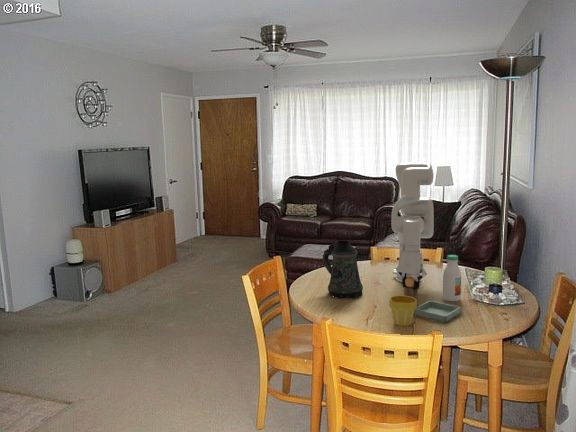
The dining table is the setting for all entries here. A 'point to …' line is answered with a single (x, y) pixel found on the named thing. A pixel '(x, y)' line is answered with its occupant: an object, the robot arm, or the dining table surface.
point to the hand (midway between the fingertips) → (410, 287)
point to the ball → (410, 282)
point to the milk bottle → (452, 280)
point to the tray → (437, 311)
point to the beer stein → (343, 270)
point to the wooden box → (410, 292)
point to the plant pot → (402, 309)
